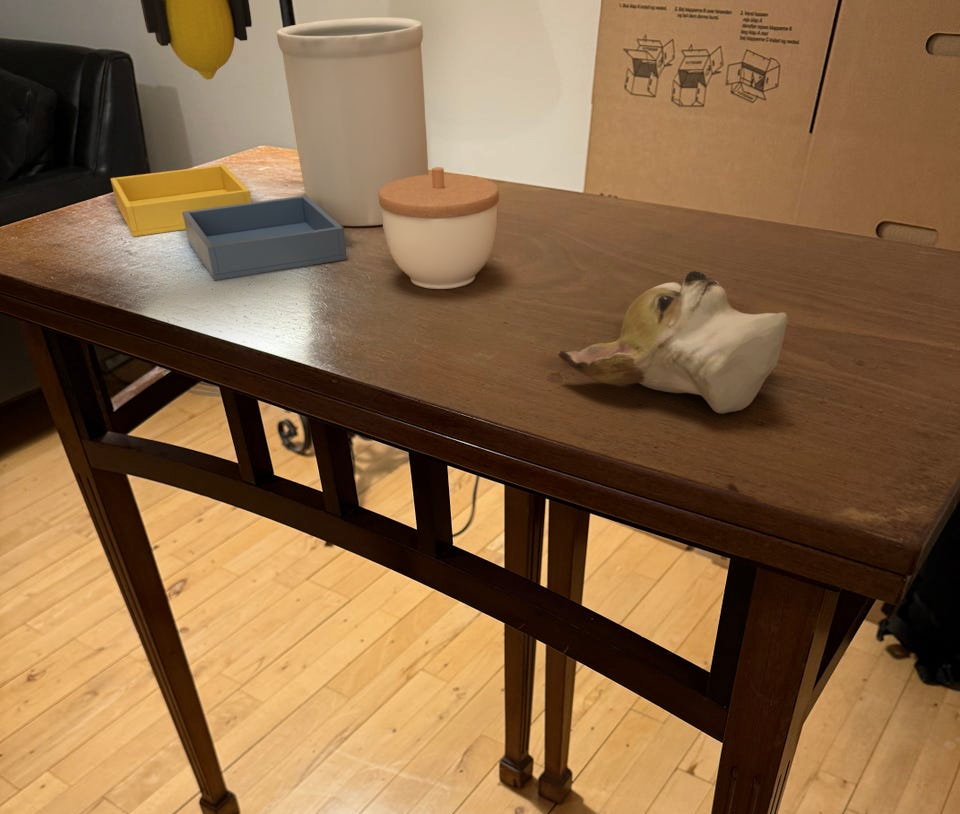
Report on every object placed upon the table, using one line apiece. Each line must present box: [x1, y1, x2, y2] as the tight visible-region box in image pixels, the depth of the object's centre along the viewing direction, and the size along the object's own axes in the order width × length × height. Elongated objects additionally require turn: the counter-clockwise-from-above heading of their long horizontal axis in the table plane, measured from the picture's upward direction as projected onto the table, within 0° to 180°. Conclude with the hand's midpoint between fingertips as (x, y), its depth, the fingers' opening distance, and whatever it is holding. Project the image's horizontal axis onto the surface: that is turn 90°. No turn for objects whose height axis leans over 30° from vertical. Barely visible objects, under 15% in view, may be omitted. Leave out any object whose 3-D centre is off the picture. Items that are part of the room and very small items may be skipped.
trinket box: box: [378, 166, 500, 290], centre depth 82 cm, size 11×11×9 cm
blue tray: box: [182, 194, 348, 281], centre depth 92 cm, size 13×13×3 cm
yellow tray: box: [110, 164, 253, 237], centre depth 103 cm, size 13×13×3 cm
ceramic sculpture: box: [557, 270, 789, 415], centre depth 64 cm, size 11×9×15 cm
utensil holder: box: [276, 17, 429, 227], centre depth 98 cm, size 15×15×18 cm
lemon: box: [162, 0, 236, 81], centre depth 74 cm, size 6×6×8 cm
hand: (201, 38), depth 75 cm, fingers closed on lemon, 5 cm apart
